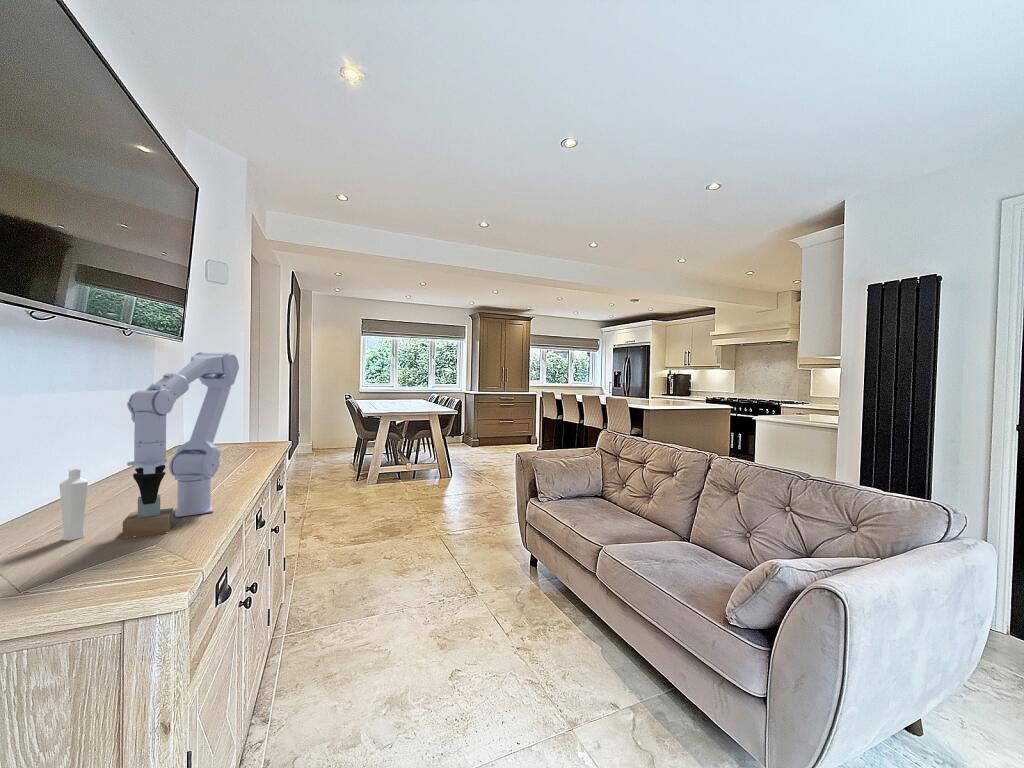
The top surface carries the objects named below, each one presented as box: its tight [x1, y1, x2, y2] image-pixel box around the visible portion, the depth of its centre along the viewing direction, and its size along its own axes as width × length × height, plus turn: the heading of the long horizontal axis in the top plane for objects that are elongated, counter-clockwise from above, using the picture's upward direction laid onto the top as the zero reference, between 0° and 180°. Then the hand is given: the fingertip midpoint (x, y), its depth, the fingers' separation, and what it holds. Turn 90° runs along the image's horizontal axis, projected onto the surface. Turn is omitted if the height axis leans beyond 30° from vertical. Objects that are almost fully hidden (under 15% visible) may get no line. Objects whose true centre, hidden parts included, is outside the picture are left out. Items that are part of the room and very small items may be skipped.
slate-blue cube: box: [137, 493, 161, 518], centre depth 103 cm, size 4×4×4 cm
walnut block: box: [122, 507, 174, 539], centre depth 103 cm, size 8×8×4 cm
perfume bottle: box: [59, 468, 89, 541], centre depth 98 cm, size 5×4×15 cm
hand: (149, 500), depth 103 cm, fingers open, 7 cm apart
